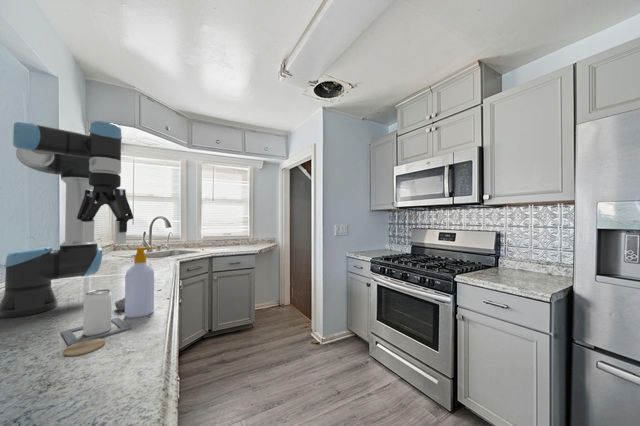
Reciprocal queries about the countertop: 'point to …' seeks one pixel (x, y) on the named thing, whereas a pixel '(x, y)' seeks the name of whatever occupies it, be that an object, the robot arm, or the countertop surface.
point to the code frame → (72, 339)
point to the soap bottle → (139, 287)
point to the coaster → (84, 347)
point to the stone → (120, 304)
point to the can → (97, 312)
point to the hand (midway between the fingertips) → (103, 243)
